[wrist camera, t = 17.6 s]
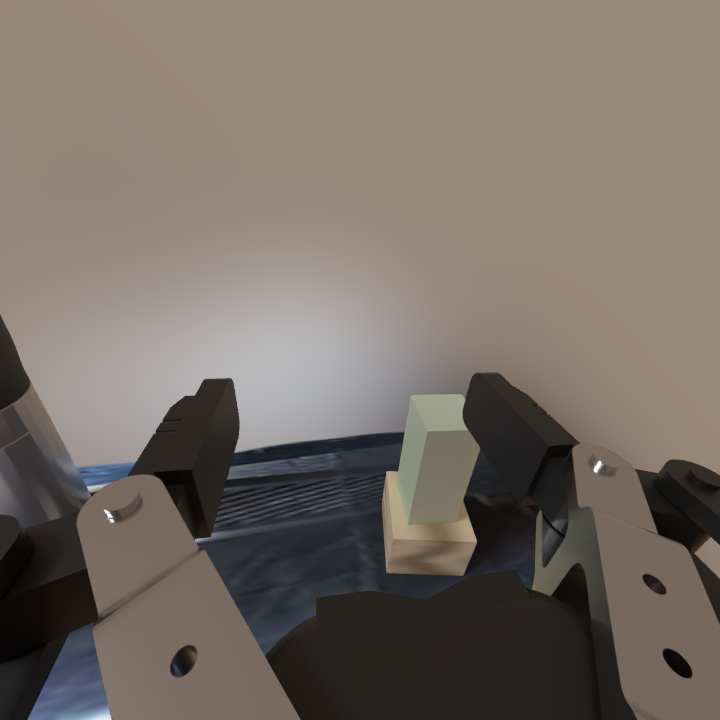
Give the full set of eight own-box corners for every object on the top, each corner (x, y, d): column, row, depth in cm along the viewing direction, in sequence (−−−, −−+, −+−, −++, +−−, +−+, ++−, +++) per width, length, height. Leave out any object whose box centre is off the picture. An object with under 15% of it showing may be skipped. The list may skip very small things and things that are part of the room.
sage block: (407, 525, 30) (427, 431, 24) (396, 483, 34) (411, 395, 29) (455, 521, 31) (486, 429, 25) (439, 480, 35) (461, 394, 29)
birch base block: (386, 573, 32) (393, 538, 29) (381, 504, 39) (386, 471, 36) (463, 576, 32) (477, 542, 29) (444, 507, 39) (454, 474, 36)
